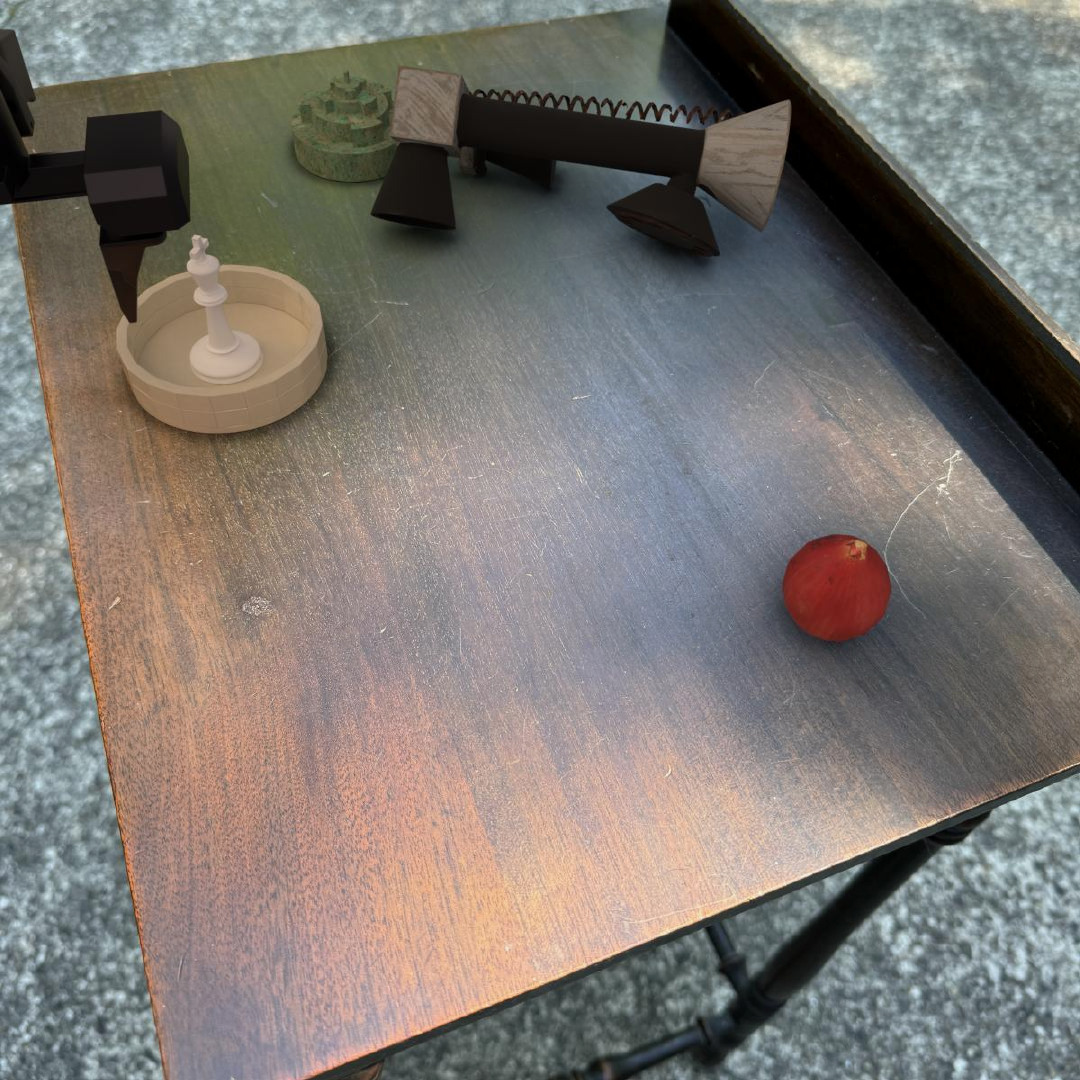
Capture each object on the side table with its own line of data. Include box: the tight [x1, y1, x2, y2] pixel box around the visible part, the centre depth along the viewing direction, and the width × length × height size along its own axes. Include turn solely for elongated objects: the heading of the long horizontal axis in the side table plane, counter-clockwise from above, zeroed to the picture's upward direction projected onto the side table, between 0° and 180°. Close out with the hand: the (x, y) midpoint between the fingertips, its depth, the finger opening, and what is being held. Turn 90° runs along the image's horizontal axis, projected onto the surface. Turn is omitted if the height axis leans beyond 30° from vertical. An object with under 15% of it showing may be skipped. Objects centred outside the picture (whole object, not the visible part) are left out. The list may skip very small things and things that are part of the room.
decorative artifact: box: [290, 69, 397, 183], centre depth 86 cm, size 10×7×10 cm
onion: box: [781, 533, 892, 643], centre depth 57 cm, size 6×6×8 cm
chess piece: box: [186, 234, 263, 385], centre depth 66 cm, size 5×5×10 cm
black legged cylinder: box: [370, 65, 792, 258], centre depth 80 cm, size 15×13×30 cm
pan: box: [115, 263, 328, 435], centre depth 70 cm, size 13×13×4 cm
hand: (42, 328), depth 53 cm, fingers open, 9 cm apart
